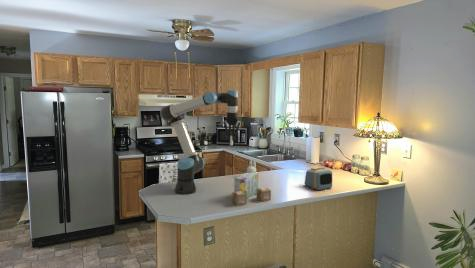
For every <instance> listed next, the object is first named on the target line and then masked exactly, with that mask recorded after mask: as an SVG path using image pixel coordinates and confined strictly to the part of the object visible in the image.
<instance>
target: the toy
mask: <svg viewBox="0 0 475 268" xmlns="http://www.w3.org/2000/svg"><path fill="white" fill-rule="evenodd" d="M256 163H257V162H256V161H255V160H254V161H252V160H249V162H248V166H247V168H246V172H244V173H242V174H241V176H242V175H246V174H249V173H252V172H254V173H257V167H256V166H257V164H256Z"/></svg>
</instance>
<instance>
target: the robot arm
mask: <svg viewBox="0 0 475 268" xmlns="http://www.w3.org/2000/svg"><path fill="white" fill-rule="evenodd" d="M213 104H226V118H225V120H224V121H223V122H222V123H223V126H224V129H225V135H226V136H228V141H229V146H233V145H234V144H233V143H234V141H235V136H237V135H238V132H239V128H240V125H241V124H242V122H241V121H239V119H238V114H239V113H238V108H239V107H238V106H239V105H238V104H239V91H238V90H236V89H235V90H234V89H227V92H213V91H209V92H207V93H205V94H203V95H200V96H196V97H194V98H192V99H188V100H185V101H183V102H179V103H176V104H168V105H164V106H163V107H162V108H161V109H160V112H159V114H160V117H161V119H162V120H163V121H165V122H169V123H170V126H173V128H174V131H175V134H176V136H177V139H178V141H179V144H180V147H181V149H182V152H183V154H184V157H182V158H180V159H178V160H177V165H176V166H177V172H176V174H177V175H176V176H177V181H176V184H175V186H174V192H175V193H176V194H179V195H190V194H195V193H196V192H197V187H196V183H195V174H196V173H199V172H201V171H202V170H203V169H204V167H205V160H204V158H203V157H202V156H200V154H199V152H197V151H196V149H195V146H194V144H193V141H192V139H191V136H190V134H189V131H188V129H187V126H186V124H185V121H186V118H185V116H186V113H189V112H191V111H195V110H198V109H200V108H204V107H206V106H210V105H213ZM236 124H237V125H236Z"/></svg>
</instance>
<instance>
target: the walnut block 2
mask: <svg viewBox="0 0 475 268" xmlns="http://www.w3.org/2000/svg"><path fill="white" fill-rule="evenodd" d="M271 196H272V190H271V189H269V188H267V187H258V188H257V194H256V199H257V200H258V199H259V200H258V201H260V202H266V201H268V200H269V201H271V198H272V197H271Z"/></svg>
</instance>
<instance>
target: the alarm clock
mask: <svg viewBox="0 0 475 268" xmlns="http://www.w3.org/2000/svg"><path fill="white" fill-rule="evenodd" d="M304 177H305V178H304V186H306V187H309V188H311V189H313V190H315V191H316V190H317V191H322V190H327V189H331V188H333V171H332V170H331V169H327V168H326V167H323V166H313V167H311V168H310V169H307V170H306V172H305V176H304Z"/></svg>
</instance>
